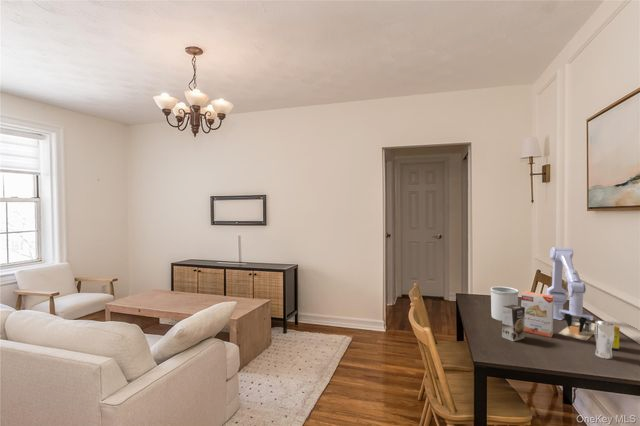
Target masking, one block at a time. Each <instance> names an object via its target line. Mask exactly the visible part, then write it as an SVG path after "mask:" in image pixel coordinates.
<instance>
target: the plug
mask: <svg viewBox="0 0 640 426" xmlns="http://www.w3.org/2000/svg"><path fill="white" fill-rule="evenodd" d="M579 328H580V325H573V324H572V325H571V326H569V333H572V334H576V335H579V334H580V333H581V332H579Z"/></svg>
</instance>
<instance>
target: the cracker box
mask: <svg viewBox="0 0 640 426" xmlns="http://www.w3.org/2000/svg"><path fill="white" fill-rule="evenodd" d="M520 306H522V307H525V322H524V333H529V334H532V335H538V336H542V337H546V338H553V334H554V332H553V331H554V319H553V312H554V296H552V295H545V293H544V294H543V293H538V292H532V291H526V290H524V291H522V292H521V304H520Z"/></svg>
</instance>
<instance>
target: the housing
mask: <svg viewBox="0 0 640 426" xmlns="http://www.w3.org/2000/svg"><path fill="white" fill-rule="evenodd" d="M579 319H580V318H577V317H576V318H575V317H572V322H571V323H572V324H573V325H575V322H578V323H580V322H579ZM591 323H592V321H590V320H587V321H586V322H585V332H590V331H591Z"/></svg>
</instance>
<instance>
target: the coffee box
mask: <svg viewBox="0 0 640 426" xmlns="http://www.w3.org/2000/svg"><path fill="white" fill-rule="evenodd" d="M501 322H502V325H501V326H502V327H501V338H503V339H506V340H508V341H511V342H517V341H520V340H523V339H525V332H524V322H525V307H522V306H521V305H519V304H518V305H508V306H503V320H502V321H501Z"/></svg>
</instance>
